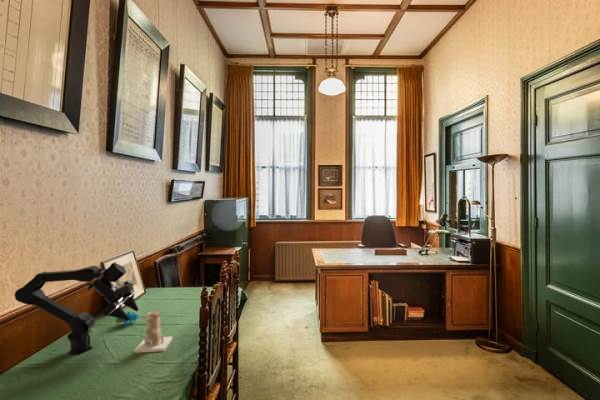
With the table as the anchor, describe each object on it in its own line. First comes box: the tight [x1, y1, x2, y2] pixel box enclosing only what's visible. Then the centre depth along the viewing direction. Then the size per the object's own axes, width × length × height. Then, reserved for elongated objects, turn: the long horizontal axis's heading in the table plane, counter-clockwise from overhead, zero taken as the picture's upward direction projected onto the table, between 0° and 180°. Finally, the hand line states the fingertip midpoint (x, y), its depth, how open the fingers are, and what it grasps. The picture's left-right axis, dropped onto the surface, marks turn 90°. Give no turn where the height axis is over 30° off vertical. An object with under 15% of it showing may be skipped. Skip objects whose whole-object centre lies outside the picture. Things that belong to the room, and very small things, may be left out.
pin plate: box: [134, 334, 174, 354], centre depth 147 cm, size 12×12×4 cm
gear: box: [114, 311, 139, 328], centre depth 172 cm, size 11×6×10 cm
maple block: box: [145, 310, 162, 345], centre depth 147 cm, size 4×4×13 cm
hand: (133, 315), depth 148 cm, fingers open, 9 cm apart
